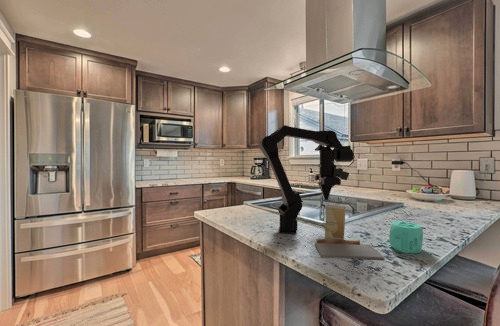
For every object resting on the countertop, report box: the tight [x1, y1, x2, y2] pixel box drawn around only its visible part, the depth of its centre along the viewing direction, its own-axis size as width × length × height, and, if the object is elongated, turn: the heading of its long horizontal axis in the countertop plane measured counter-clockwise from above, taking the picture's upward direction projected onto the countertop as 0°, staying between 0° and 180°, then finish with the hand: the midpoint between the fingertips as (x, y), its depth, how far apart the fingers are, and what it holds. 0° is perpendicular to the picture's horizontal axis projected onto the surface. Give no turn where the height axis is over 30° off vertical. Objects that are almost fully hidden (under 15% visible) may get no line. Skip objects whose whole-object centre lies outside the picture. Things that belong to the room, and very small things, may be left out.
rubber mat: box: [314, 242, 385, 260], centre depth 75 cm, size 18×10×1 cm, turn 86°
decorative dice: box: [388, 221, 424, 255], centre depth 78 cm, size 8×8×8 cm
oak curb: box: [316, 238, 361, 244], centre depth 81 cm, size 14×1×2 cm, turn 86°
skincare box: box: [324, 204, 346, 240], centre depth 85 cm, size 6×4×12 cm
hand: (326, 200), depth 98 cm, fingers closed
